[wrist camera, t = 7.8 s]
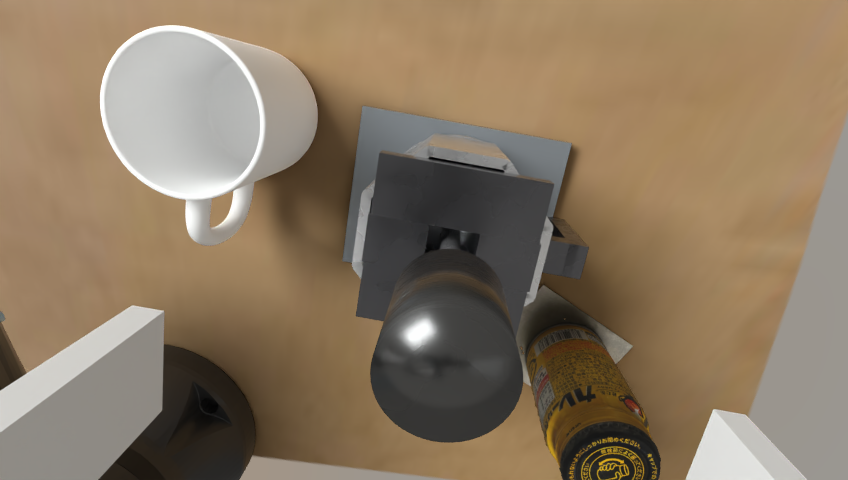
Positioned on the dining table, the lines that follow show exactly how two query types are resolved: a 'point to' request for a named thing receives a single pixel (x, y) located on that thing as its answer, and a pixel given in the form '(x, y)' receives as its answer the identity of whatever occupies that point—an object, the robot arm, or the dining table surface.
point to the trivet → (409, 129)
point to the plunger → (447, 344)
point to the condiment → (583, 393)
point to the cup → (205, 119)
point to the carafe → (460, 220)
